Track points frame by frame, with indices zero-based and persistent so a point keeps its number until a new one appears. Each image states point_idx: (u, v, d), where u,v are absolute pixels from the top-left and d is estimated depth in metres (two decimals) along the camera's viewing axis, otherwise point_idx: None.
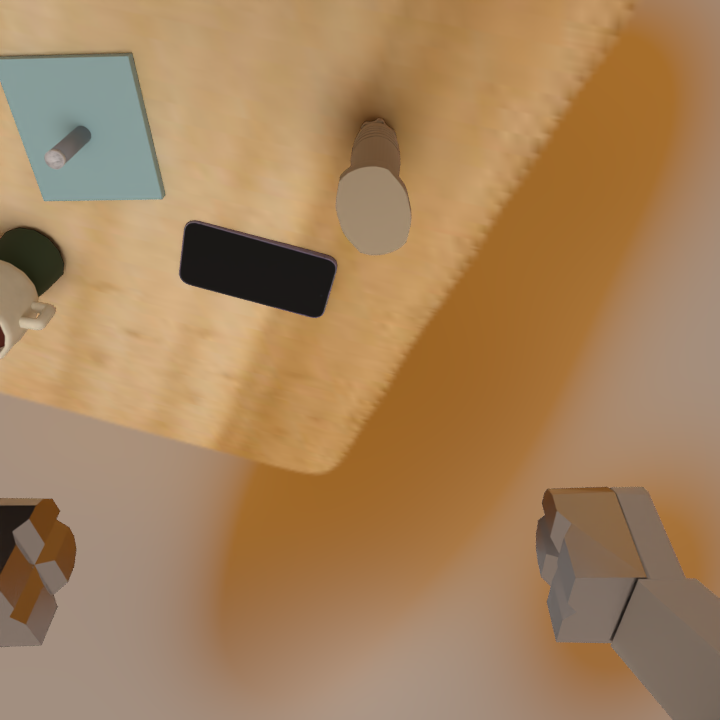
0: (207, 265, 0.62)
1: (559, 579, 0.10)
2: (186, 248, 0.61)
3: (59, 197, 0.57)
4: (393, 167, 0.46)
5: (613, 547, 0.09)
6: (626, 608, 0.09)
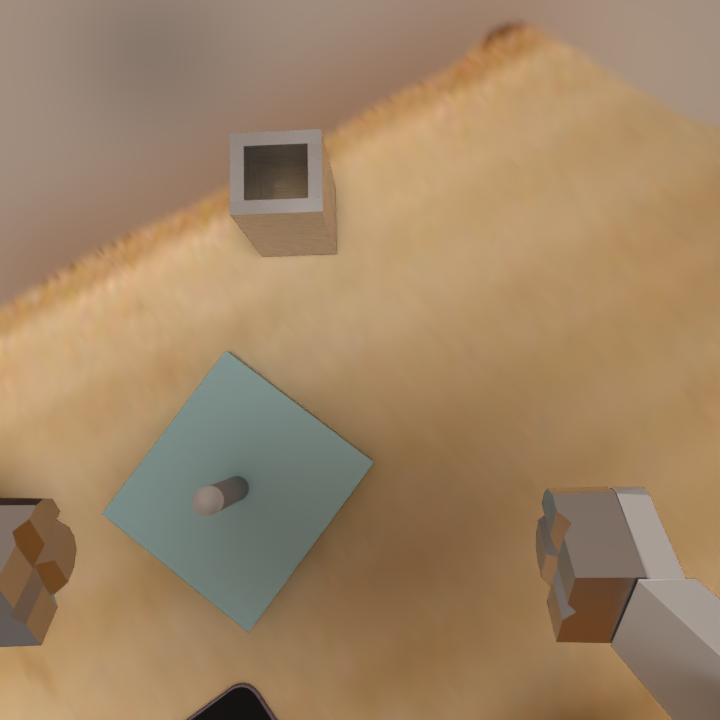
0: None
1: (559, 579, 0.10)
2: (207, 715, 0.36)
3: (125, 525, 0.37)
4: None
5: (613, 547, 0.09)
6: (626, 608, 0.09)
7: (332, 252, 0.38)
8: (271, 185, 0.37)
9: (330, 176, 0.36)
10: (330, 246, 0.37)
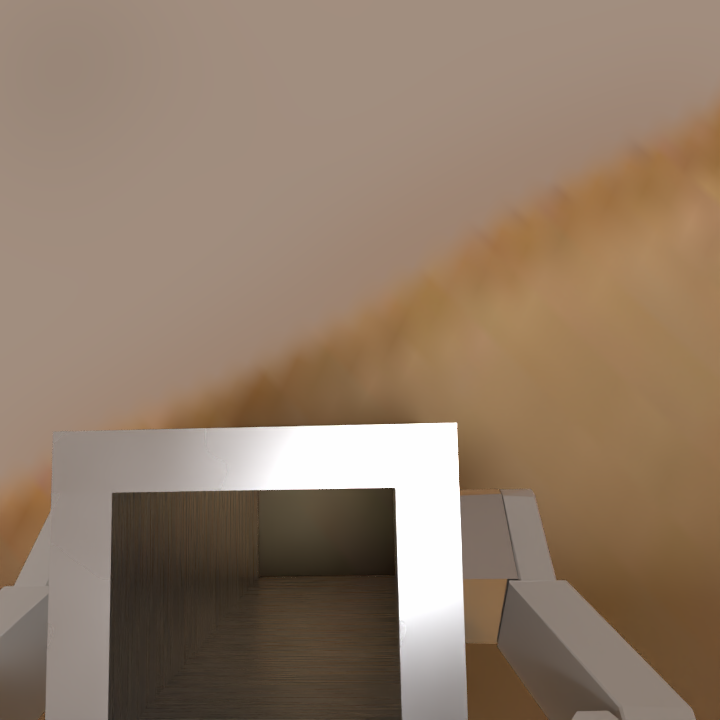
0: None
1: None
2: None
3: None
4: None
5: (490, 549, 0.09)
6: (504, 608, 0.09)
7: None
8: None
9: None
10: None
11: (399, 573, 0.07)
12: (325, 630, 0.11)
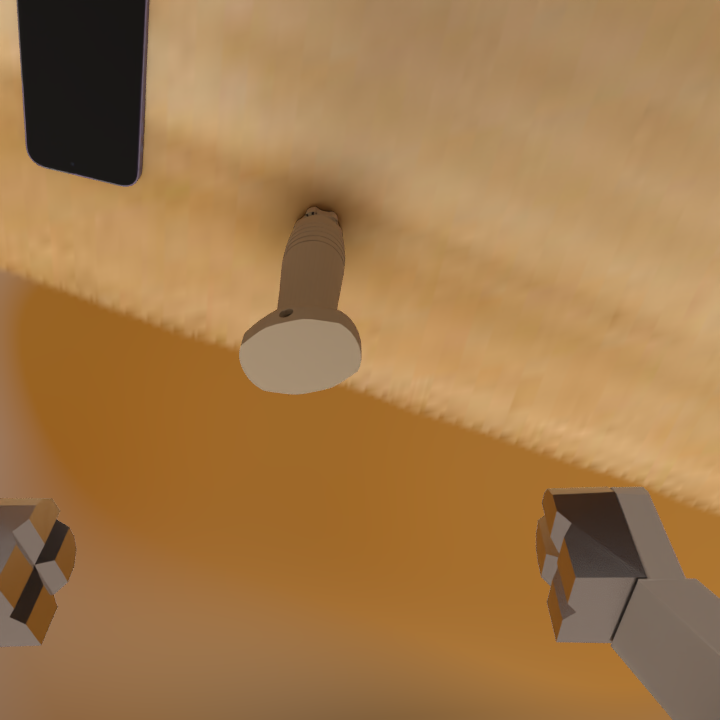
0: None
1: (559, 579, 0.10)
2: None
3: None
4: None
5: (613, 547, 0.09)
6: (626, 608, 0.09)
7: None
8: None
9: None
10: None
11: None
12: None
